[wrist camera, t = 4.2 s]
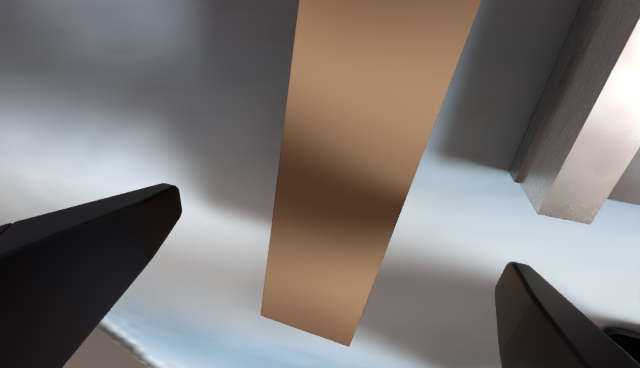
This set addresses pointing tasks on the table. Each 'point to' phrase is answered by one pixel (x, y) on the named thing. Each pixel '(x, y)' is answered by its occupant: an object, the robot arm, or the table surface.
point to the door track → (587, 118)
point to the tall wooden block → (353, 148)
